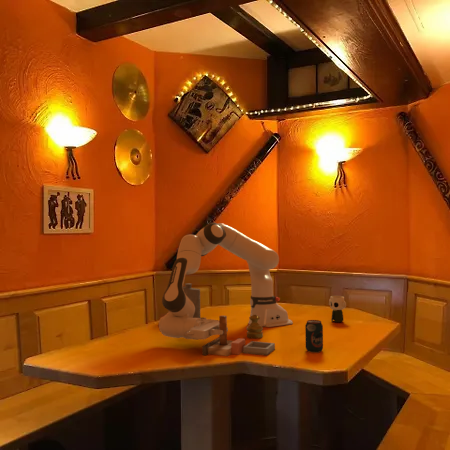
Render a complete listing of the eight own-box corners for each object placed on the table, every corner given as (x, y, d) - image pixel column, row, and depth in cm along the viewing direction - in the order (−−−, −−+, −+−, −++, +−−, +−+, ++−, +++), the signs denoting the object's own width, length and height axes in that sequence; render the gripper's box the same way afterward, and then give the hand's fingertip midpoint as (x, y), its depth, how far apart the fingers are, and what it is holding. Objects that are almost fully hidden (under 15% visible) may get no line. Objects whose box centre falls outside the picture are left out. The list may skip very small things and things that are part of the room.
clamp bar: (202, 355, 199) (202, 346, 199) (221, 344, 217) (221, 335, 217) (206, 355, 199) (206, 346, 199) (224, 344, 216) (224, 336, 216)
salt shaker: (248, 339, 225) (248, 316, 225) (244, 335, 232) (244, 313, 232) (264, 338, 227) (264, 316, 226) (260, 334, 234) (260, 313, 234)
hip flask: (201, 322, 262) (201, 284, 262) (195, 324, 259) (195, 285, 259) (183, 318, 274) (182, 281, 274) (177, 319, 271) (176, 282, 271)
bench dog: (231, 354, 200) (231, 342, 200) (238, 349, 208) (238, 338, 208) (238, 354, 199) (238, 343, 199) (245, 349, 207) (245, 338, 207)
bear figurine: (324, 321, 263) (324, 296, 263) (333, 319, 268) (333, 294, 267) (341, 324, 255) (341, 298, 254) (350, 322, 259) (350, 297, 259)
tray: (243, 353, 202) (243, 346, 202) (251, 347, 211) (251, 341, 211) (267, 355, 198) (267, 349, 198) (274, 349, 207) (274, 343, 207)
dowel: (225, 349, 208) (225, 315, 208) (227, 351, 205) (227, 316, 205) (218, 349, 207) (218, 315, 207) (220, 351, 204) (220, 317, 204)
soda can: (314, 354, 199) (314, 323, 199) (302, 350, 205) (301, 321, 205) (326, 351, 203) (326, 321, 203) (314, 347, 209) (313, 318, 209)
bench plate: (205, 353, 201) (204, 347, 201) (218, 345, 214) (218, 339, 214) (228, 355, 198) (228, 349, 198) (240, 347, 211) (240, 341, 210)
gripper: (183, 325, 201) (214, 328, 196) (204, 316, 220) (234, 318, 215) (183, 341, 201) (214, 344, 196) (204, 331, 220) (234, 333, 215)
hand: (225, 331), depth 206 cm, fingers closed on dowel, 3 cm apart
